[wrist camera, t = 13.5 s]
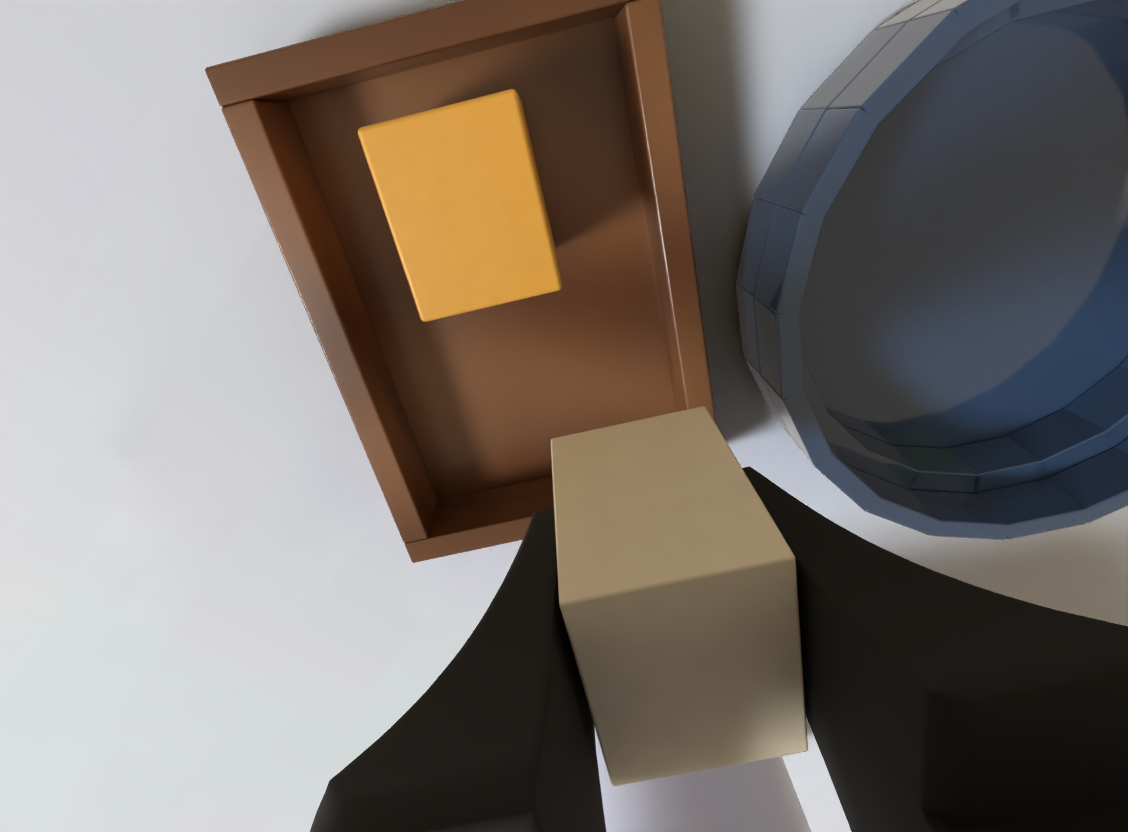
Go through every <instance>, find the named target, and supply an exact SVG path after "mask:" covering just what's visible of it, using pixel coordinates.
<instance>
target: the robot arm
mask: <svg viewBox="0 0 1128 832" xmlns="http://www.w3.org/2000/svg"><path fill="white" fill-rule="evenodd" d="M742 469H743V471H744V472H745V474H746V476H747V477H748V479H749V481H750V482H751V484H752V486H753V487H754V489H755V491H756V492H757V494H758V496H759V497H760V499H761V501H762V502H763V504H764V506H765V507H766V509H767V511H768V512H769V514H770V516H771V517H772V519H773V521H774V523H775V524H776V526H777V528H778V529H779V531H780V533H781V534H782V536H783V538H784V539H785V541H786V543H787V544H788V546H789V548H790V549H791V551H792V553H793V554H794V556H795V561H796V576H797V591H798V606H799V622H800V637H801V652H802V667H803V682H804V697H805V713H806V717H807V719H808V722H809V724H810V727H811V729H812V731H813V734H814V736H815V739H816V741H817V744H818V746H819V749H820V751H821V754H822V756H823V759H824V761H825V764H826V766H827V769H828V771H829V774H830V777H831V779H832V782H833V784H834V787H835V789H836V792H837V795H838V797H839V800H840V802H841V805H842V807H843V810H844V813H845V815H846V818H847V820H848V823H849V826H850V828H851V831H852V832H1128V626H1123V625H1119V624H1115V623H1110V622H1106V621H1101V620H1097V619H1093V618H1088V617H1084V616H1079V615H1075V614H1071V613H1066V612H1062V611H1058V610H1054V609H1050V608H1046V607H1042V606H1039V605H1036V604H1032V603H1029V602H1025V601H1022V600H1018V599H1015V598H1011V597H1008V596H1004V595H1001V594H998V593H995V592H992V591H989V590H986V589H982V588H979V587H976V586H973V585H971V584H968V583H965V582H962V581H960V580H957V579H954V578H951V577H949V576H946V575H943V574H941V573H938V572H935V571H933V570H930V569H928V568H925V567H923V566H920V565H918V564H916V563H913V562H911V561H909V560H907V559H904V558H902V557H900V556H898V555H896V554H893V553H891V552H889V551H887V550H885V549H882V548H880V547H878V546H876V545H874V544H872V543H870V542H868V541H866V540H864V539H862V538H861V537H859V536H857V535H855V534H853V533H852V532H850V531H848V530H846V529H844V528H842V527H841V526H839V525H837V524H835V523H834V522H832V521H830V520H829V519H827V518H825V517H824V516H822V515H821V514H819V513H817V512H816V511H814V510H813V509H811V508H809V507H808V506H806V505H805V504H803V503H802V502H800V501H799V500H797V499H796V498H794V497H793V496H791V495H790V494H788V493H787V492H786V491H784V490H783V489H781V488H780V487H778V486H777V485H776V484H774V483H773V482H771V481H770V480H768V479H767V478H766V477H764V476H763V475H761V474H760V473H758V472H757V471H755V470H754V469H753V468H751V467H746V468H742ZM310 832H811V830H810V828H809V825H808V822H807V820H806V817H805V815H804V812H803V810H802V807H801V804H800V802H799V799H798V797H797V794H796V792H795V789H794V787H793V784H792V781H791V779H790V776H789V774H788V771H787V769H786V766H785V763H784V761H783V758H782V756H779V757H773V758H768V759H762V760H757V761H751V762H746V763H740V764H735V765H729V766H724V767H718V768H713V769H707V770H702V771H696V772H691V773H685V774H680V775H675V776H669V777H664V778H658V779H653V780H647V781H642V782H636V783H631V784H625V785H620V786H613V785H612V784H611V781H610V778H609V774H608V771H607V767H606V764H605V761H604V757H603V754H602V750H601V747H600V743H599V740H598V736H597V733H596V729H595V726H594V722H593V719H592V716H591V712H590V709H589V705H588V702H587V698H586V695H585V691H584V688H583V684H582V681H581V678H580V674H579V671H578V667H577V664H576V660H575V657H574V653H573V650H572V646H571V643H570V639H569V636H568V633H567V629H566V626H565V622H564V619H563V615H562V612H561V608H560V605H559V589H558V570H557V551H556V532H555V513H554V507H553V508H548V509H543V510H539V511H536V512H535V513H534V515H533V516H532V518H531V521H530V524H529V526H528V529H527V531H526V534H525V536H524V539H523V541H522V543H521V546H520V548H519V550H518V552H517V555H516V557H515V559H514V561H513V563H512V565H511V567H510V569H509V571H508V573H507V575H506V577H505V579H504V581H503V583H502V585H501V587H500V588H499V590H498V592H497V594H496V595H495V597H494V599H493V601H492V602H491V604H490V606H489V608H488V609H487V611H486V613H485V614H484V616H483V618H482V619H481V621H480V622H479V624H478V625H477V627H476V628H475V630H474V631H473V633H472V634H471V636H470V637H469V639H468V640H467V641H466V643H465V644H464V646H463V647H462V648H461V650H460V651H459V652H458V654H457V655H456V656H455V658H454V659H453V660H452V661H451V663H450V664H449V665H448V666H447V668H446V669H445V670H444V671H443V672H442V674H441V675H440V676H439V677H438V678H437V680H436V681H435V682H434V683H433V684H432V685H431V687H430V688H429V689H428V690H427V691H426V692H425V693H424V694H423V695H422V697H421V698H420V699H419V700H418V701H417V702H416V703H415V704H414V705H413V706H412V707H411V708H410V709H409V710H408V711H407V712H406V713H405V714H404V715H403V716H402V717H401V718H400V719H399V720H398V721H397V722H396V723H395V724H394V725H393V726H392V727H391V728H390V729H389V730H388V731H387V732H385V733H384V734H383V735H382V736H381V737H380V738H379V739H378V740H377V741H376V742H374V743H373V744H372V745H371V746H370V747H369V748H368V749H366V750H365V751H364V752H363V753H362V754H361V755H359V756H358V757H357V758H356V759H355V760H354V761H352V762H351V763H350V764H349V765H348V766H347V767H345V768H344V769H343V770H342V771H341V772H340V773H338V774H337V775H336V776H335V777H333V778H332V779H331V780H330V781H329V784H328V786H327V789H326V792H325V794H324V796H323V799H322V801H321V803H320V806H319V808H318V810H317V813H316V816H315V819H314V821H313V824H312V827H311V830H310Z"/></svg>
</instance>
